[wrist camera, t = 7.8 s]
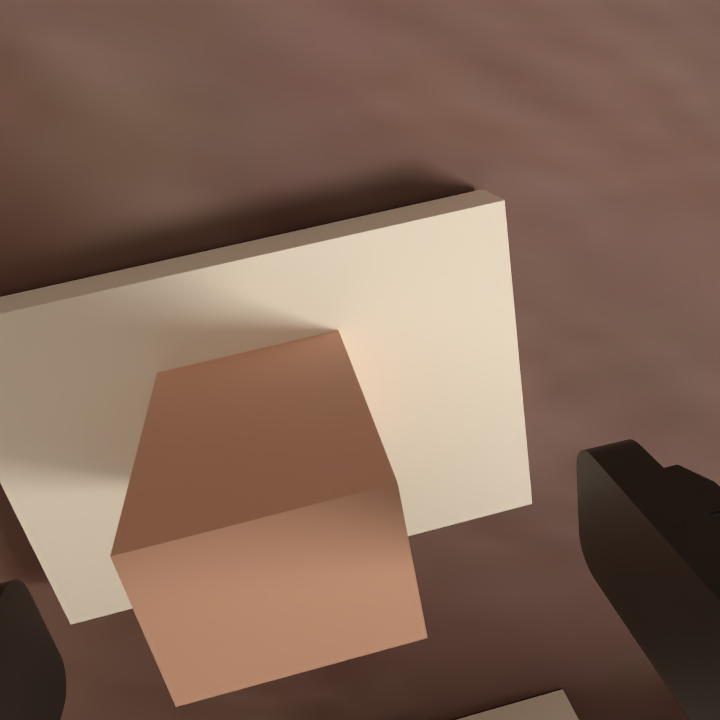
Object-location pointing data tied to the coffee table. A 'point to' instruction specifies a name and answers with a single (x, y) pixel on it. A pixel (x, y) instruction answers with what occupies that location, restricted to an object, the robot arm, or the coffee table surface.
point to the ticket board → (532, 709)
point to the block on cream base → (267, 435)
